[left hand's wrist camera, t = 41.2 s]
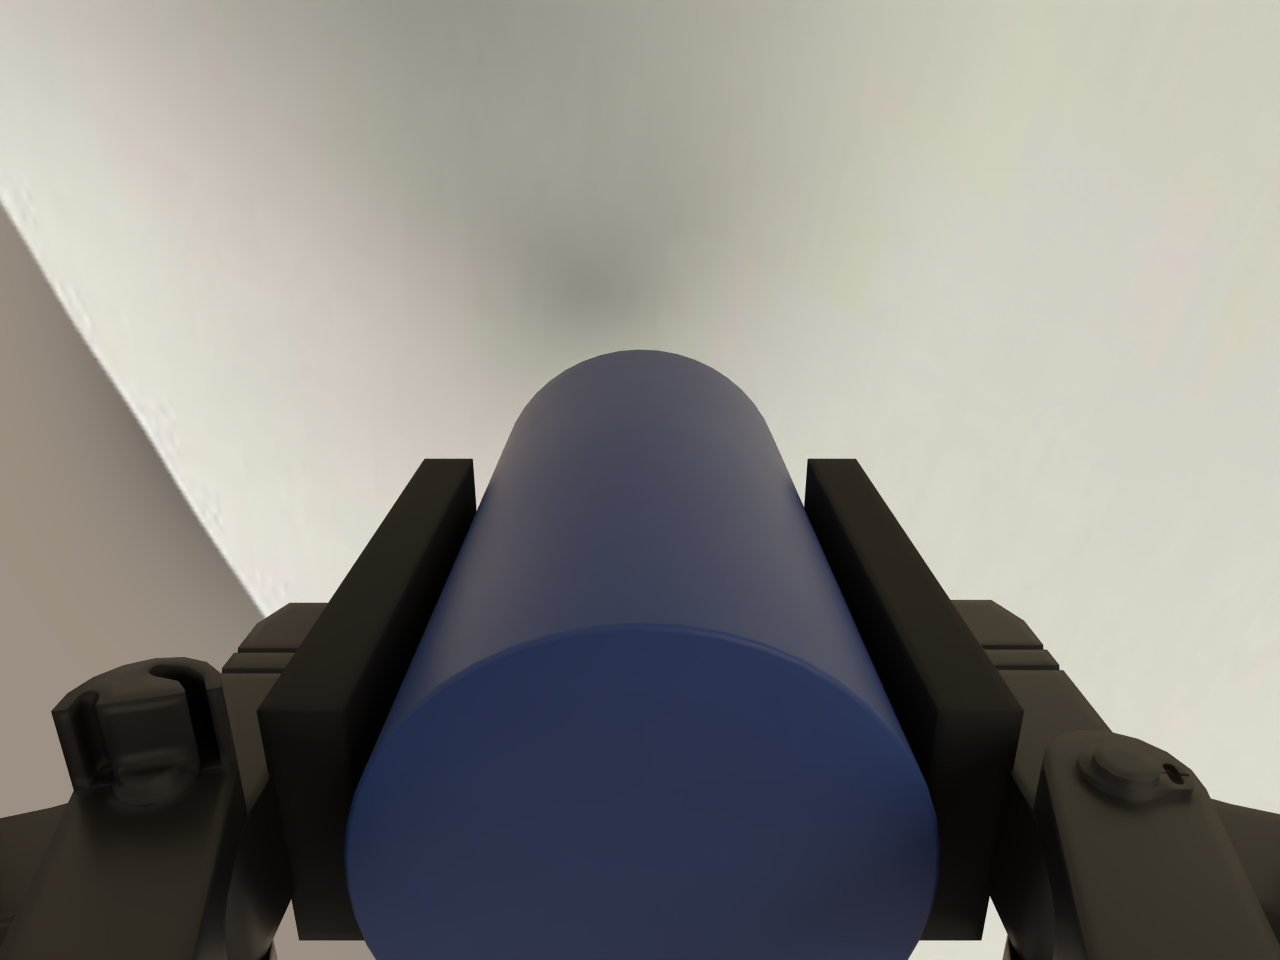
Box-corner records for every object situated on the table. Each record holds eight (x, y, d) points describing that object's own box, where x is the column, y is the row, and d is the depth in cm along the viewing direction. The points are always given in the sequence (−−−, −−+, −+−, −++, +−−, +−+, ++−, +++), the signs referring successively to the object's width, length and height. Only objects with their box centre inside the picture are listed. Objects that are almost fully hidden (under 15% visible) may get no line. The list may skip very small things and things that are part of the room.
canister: (826, 411, 16) (1057, 747, 7) (713, 641, 18) (786, 1141, 9) (556, 305, 15) (442, 534, 7) (466, 556, 17) (280, 1006, 8)
